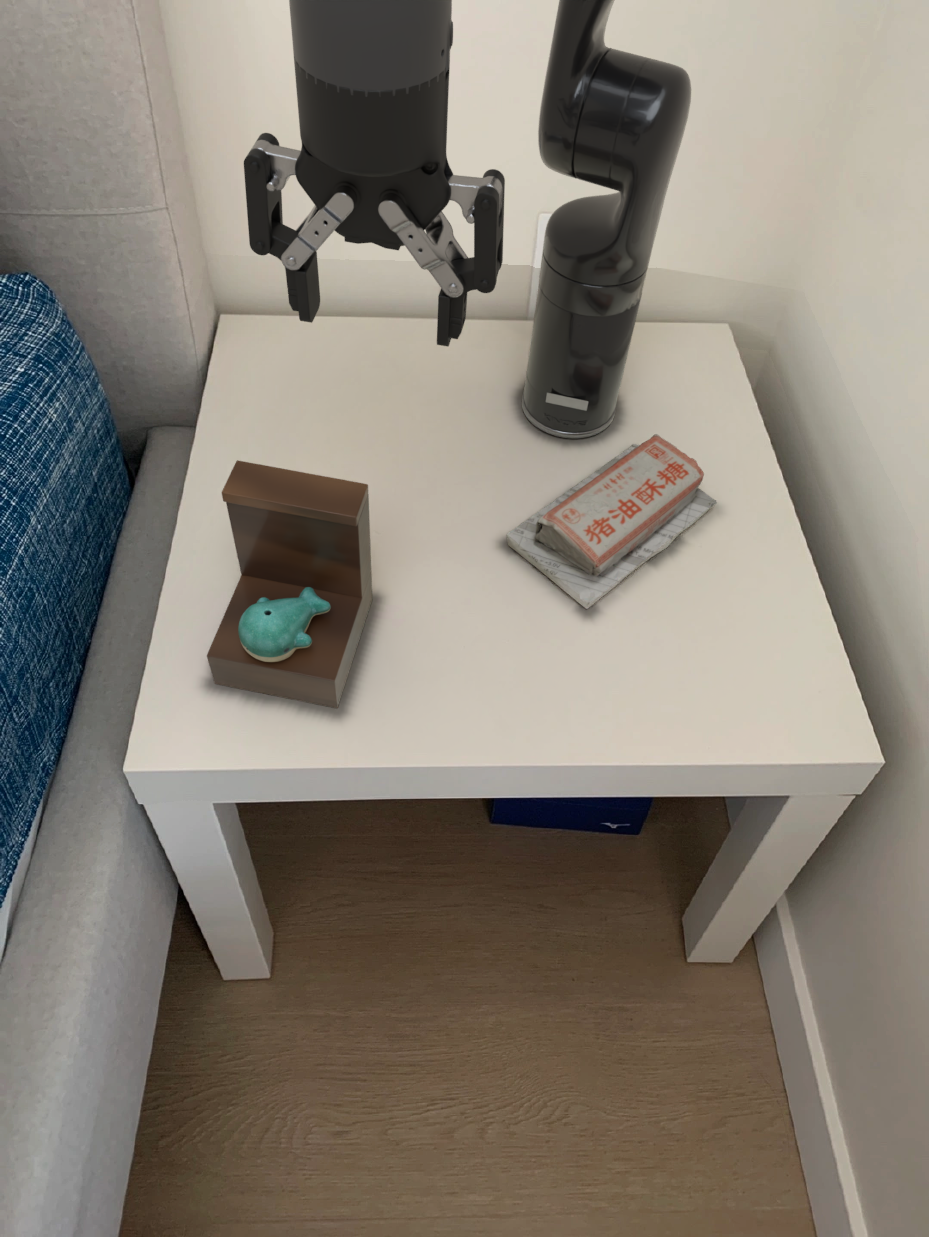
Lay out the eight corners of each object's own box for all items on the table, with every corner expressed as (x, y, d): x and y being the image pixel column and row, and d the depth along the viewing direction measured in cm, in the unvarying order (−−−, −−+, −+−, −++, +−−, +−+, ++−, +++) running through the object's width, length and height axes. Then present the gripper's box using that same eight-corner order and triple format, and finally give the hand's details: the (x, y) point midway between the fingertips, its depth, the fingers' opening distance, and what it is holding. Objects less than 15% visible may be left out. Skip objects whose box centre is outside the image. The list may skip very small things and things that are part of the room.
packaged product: (643, 414, 91) (728, 473, 87) (633, 452, 95) (714, 509, 91) (508, 509, 83) (595, 578, 79) (503, 546, 87) (586, 613, 83)
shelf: (258, 577, 83) (236, 459, 72) (372, 599, 83) (368, 483, 71) (214, 683, 77) (182, 572, 66) (337, 708, 76) (326, 600, 65)
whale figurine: (224, 635, 75) (217, 605, 72) (299, 584, 78) (295, 554, 75) (272, 682, 73) (266, 654, 69) (347, 628, 76) (345, 598, 73)
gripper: (201, 59, 45) (246, 345, 58) (504, 105, 44) (480, 385, 57) (253, -8, 49) (284, 272, 63) (530, 33, 48) (502, 308, 62)
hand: (378, 326), depth 60 cm, fingers open, 8 cm apart
